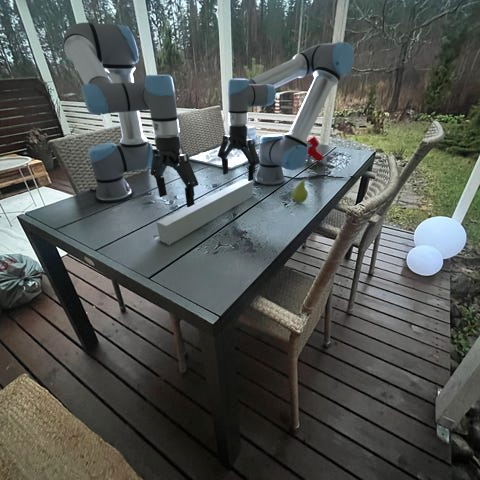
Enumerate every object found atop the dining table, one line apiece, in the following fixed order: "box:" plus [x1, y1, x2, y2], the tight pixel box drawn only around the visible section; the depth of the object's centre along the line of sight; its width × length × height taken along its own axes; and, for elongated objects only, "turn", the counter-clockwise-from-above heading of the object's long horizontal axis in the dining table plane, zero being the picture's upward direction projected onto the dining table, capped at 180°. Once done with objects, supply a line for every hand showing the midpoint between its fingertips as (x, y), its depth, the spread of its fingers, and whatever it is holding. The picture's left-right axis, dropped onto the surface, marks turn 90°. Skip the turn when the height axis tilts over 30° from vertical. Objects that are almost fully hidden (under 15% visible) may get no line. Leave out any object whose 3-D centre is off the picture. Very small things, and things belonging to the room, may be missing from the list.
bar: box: [156, 178, 254, 246], centre depth 110 cm, size 51×5×8 cm, turn 144°
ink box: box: [246, 125, 257, 145], centre depth 212 cm, size 8×5×12 cm, turn 135°
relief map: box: [188, 145, 249, 170], centre depth 177 cm, size 27×35×5 cm
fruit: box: [291, 174, 311, 204], centre depth 118 cm, size 7×8×12 cm
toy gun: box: [307, 135, 324, 163], centre depth 171 cm, size 18×4×15 cm
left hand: (176, 200), depth 92 cm, fingers open, 13 cm apart
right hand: (237, 177), depth 117 cm, fingers open, 13 cm apart
